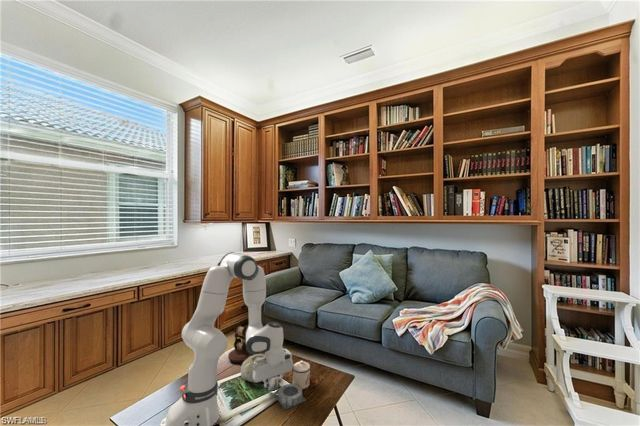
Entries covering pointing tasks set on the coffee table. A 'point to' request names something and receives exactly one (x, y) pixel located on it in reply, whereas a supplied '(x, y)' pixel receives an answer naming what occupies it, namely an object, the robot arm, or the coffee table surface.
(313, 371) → the coffee table surface
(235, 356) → the carved wooden figurine
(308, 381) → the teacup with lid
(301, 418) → the coffee table surface
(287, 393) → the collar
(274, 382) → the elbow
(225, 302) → the robot arm
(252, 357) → the decorative shell
